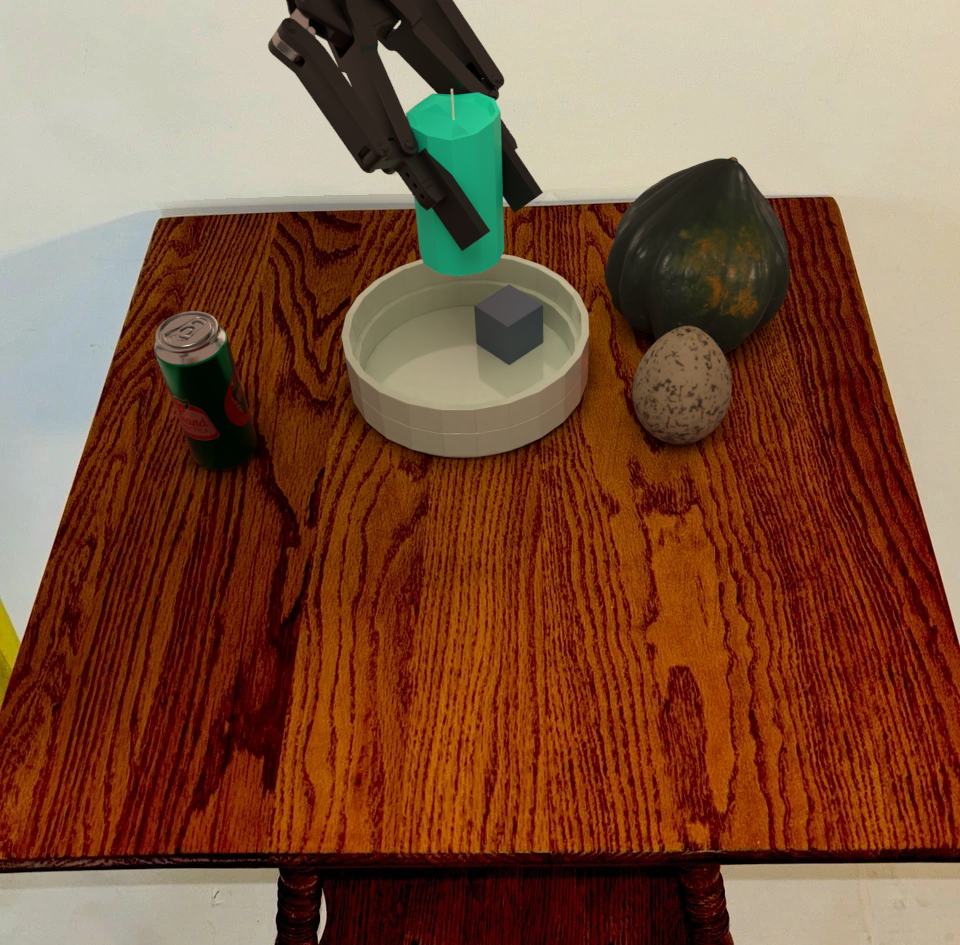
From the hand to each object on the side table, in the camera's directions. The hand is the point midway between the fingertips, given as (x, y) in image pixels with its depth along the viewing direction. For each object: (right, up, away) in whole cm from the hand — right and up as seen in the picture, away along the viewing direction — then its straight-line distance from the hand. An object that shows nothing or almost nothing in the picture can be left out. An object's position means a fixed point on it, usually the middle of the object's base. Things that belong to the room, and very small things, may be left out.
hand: (502, 221), depth 69 cm
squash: (+16, -4, +20) cm, 26 cm away
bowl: (-2, -9, +16) cm, 19 cm away
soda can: (-21, -15, +12) cm, 29 cm away
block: (+1, -6, +18) cm, 19 cm away
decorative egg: (+14, -14, +11) cm, 22 cm away
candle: (-3, -1, +5) cm, 6 cm away
